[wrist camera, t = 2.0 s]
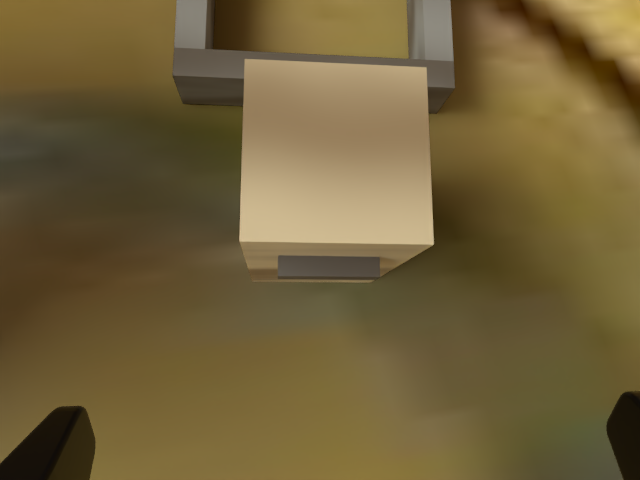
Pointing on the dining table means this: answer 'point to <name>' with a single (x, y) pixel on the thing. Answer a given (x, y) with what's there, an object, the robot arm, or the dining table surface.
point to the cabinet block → (333, 170)
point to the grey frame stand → (228, 65)
